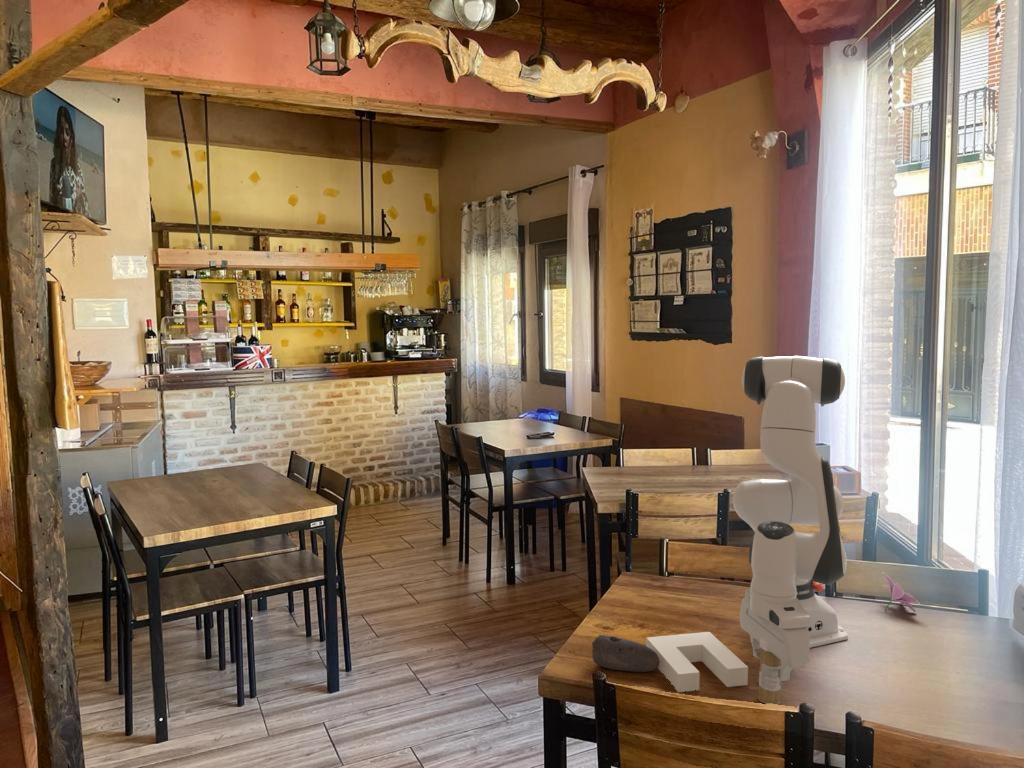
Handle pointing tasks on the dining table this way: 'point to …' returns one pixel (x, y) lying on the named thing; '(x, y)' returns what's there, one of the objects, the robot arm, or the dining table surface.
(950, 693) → the dining table surface
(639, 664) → the perforated stone tool
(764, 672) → the sprinkles bottle
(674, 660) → the slotted plate
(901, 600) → the lily
